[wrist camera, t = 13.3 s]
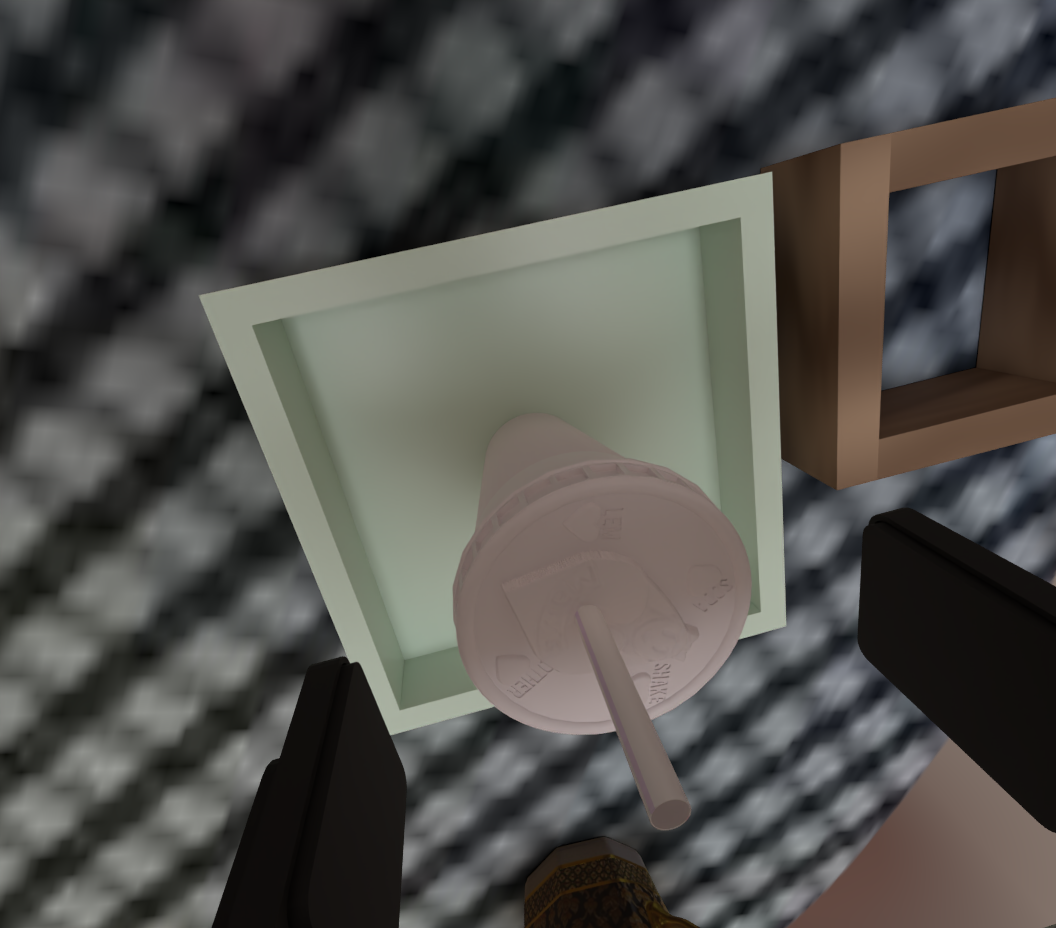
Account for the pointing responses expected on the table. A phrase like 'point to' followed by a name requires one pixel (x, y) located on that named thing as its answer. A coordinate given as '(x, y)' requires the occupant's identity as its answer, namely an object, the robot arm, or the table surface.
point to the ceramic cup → (595, 890)
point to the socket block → (859, 296)
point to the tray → (508, 401)
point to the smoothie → (596, 594)
